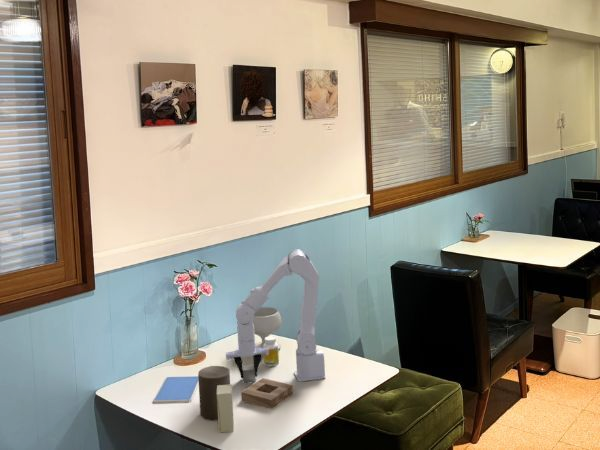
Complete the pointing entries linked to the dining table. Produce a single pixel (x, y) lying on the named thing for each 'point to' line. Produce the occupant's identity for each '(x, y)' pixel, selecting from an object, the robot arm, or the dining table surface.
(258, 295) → the robot arm
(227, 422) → the skincare box
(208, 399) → the pillar candle
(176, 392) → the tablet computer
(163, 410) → the dining table surface
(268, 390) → the holder
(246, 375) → the peg
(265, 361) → the supplement bottle
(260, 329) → the chalice
